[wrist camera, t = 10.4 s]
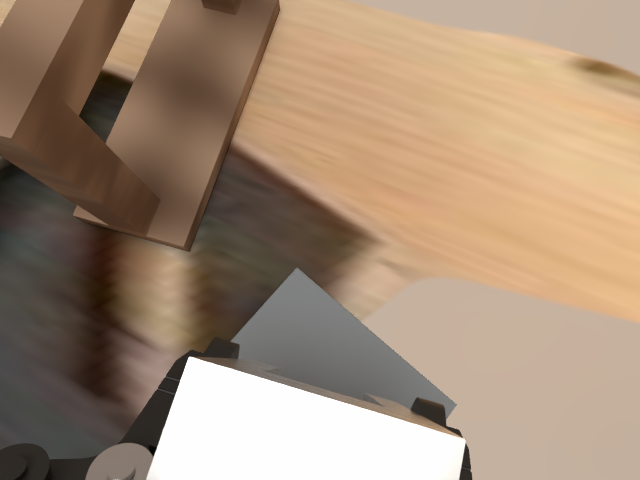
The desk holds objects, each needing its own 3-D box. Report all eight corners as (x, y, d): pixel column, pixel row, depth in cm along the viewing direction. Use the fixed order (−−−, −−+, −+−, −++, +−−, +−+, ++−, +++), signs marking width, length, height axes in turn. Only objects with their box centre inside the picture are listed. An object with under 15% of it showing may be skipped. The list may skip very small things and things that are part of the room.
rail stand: (189, 251, 23) (76, 156, 12) (82, 221, 23) (-117, 103, 12) (280, 9, 27) (255, -221, 16) (188, -13, 27) (106, -251, 17)
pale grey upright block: (367, 530, 14) (417, 714, 7) (214, 480, 14) (102, 602, 7) (396, 401, 15) (466, 439, 8) (251, 358, 15) (189, 356, 8)
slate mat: (155, 427, 20) (152, 428, 20) (297, 269, 22) (296, 267, 22) (316, 590, 19) (316, 596, 18) (453, 403, 21) (456, 404, 20)
